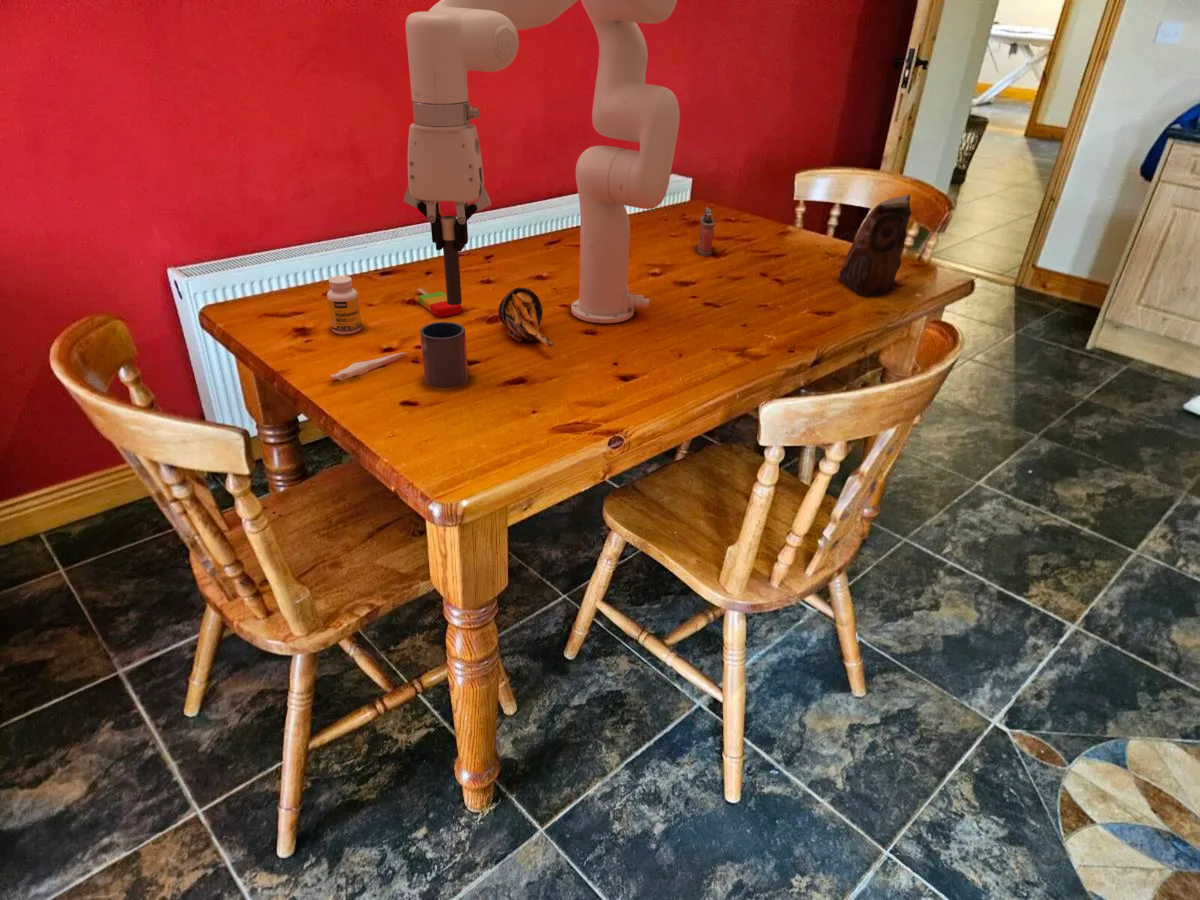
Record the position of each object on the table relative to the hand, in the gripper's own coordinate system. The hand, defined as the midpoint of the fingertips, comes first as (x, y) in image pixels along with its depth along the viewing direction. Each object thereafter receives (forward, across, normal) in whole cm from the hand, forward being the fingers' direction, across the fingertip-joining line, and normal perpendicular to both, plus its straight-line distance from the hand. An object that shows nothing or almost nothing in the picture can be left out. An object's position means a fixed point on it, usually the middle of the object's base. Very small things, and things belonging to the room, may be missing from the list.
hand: (450, 247), depth 117 cm
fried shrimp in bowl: (+23, -8, -20) cm, 31 cm away
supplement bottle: (+23, +26, -20) cm, 40 cm away
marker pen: (+9, 0, 0) cm, 9 cm away
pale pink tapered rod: (+23, +16, -4) cm, 28 cm away
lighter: (+23, -43, -81) cm, 95 cm away
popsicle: (+23, +13, -35) cm, 44 cm away
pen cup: (+23, +3, -2) cm, 23 cm away
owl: (+23, -79, -60) cm, 102 cm away
